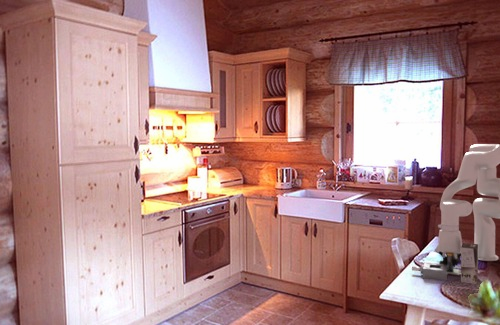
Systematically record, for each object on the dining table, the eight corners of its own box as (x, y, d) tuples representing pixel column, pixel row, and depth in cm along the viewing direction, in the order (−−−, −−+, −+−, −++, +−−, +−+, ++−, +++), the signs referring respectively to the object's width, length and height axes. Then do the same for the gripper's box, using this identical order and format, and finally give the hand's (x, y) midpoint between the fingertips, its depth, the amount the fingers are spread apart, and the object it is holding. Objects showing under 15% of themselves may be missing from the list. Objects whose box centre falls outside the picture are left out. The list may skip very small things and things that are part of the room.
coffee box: (476, 285, 185) (477, 248, 184) (460, 282, 188) (460, 247, 187) (478, 278, 192) (478, 243, 191) (462, 276, 196) (462, 242, 195)
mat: (441, 268, 208) (441, 267, 208) (459, 270, 204) (459, 269, 204) (440, 273, 201) (440, 272, 201) (459, 275, 197) (459, 274, 197)
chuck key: (446, 269, 204) (446, 251, 204) (453, 270, 203) (453, 252, 202) (446, 271, 202) (446, 253, 201) (453, 272, 200) (453, 253, 200)
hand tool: (446, 269, 207) (446, 260, 206) (438, 267, 210) (439, 258, 210) (465, 261, 218) (465, 252, 218) (457, 259, 221) (457, 251, 221)
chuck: (413, 271, 205) (413, 261, 205) (447, 274, 198) (447, 264, 198) (411, 277, 196) (411, 267, 196) (446, 281, 189) (446, 271, 189)
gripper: (430, 228, 201) (430, 266, 202) (469, 231, 194) (469, 270, 195) (431, 225, 208) (431, 261, 209) (469, 227, 201) (469, 265, 202)
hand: (449, 265), depth 202 cm, fingers open, 3 cm apart
